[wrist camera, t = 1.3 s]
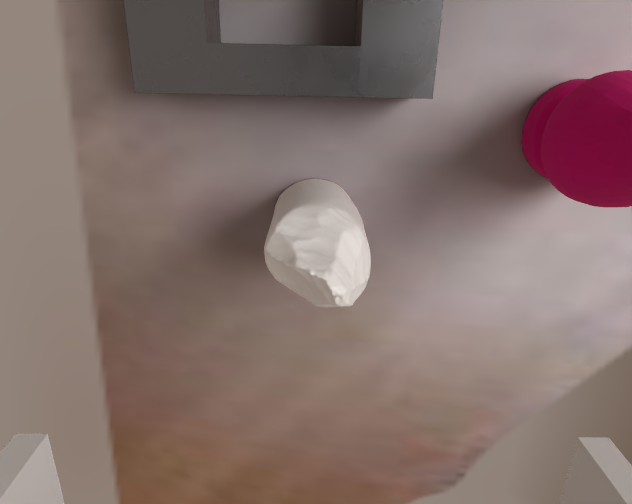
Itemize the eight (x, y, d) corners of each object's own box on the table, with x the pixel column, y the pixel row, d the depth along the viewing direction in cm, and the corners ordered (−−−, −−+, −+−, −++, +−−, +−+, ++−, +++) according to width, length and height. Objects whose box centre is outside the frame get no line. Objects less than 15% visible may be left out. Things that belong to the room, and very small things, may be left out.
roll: (229, 315, 21) (291, 211, 19) (260, 229, 32) (300, 158, 30) (343, 371, 22) (411, 278, 20) (334, 269, 33) (377, 204, 31)
